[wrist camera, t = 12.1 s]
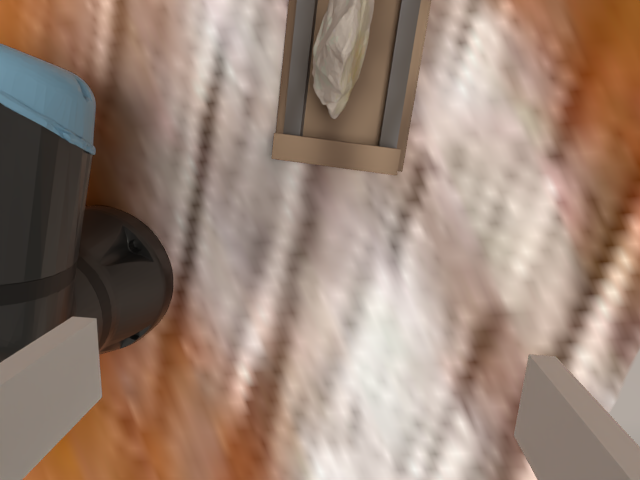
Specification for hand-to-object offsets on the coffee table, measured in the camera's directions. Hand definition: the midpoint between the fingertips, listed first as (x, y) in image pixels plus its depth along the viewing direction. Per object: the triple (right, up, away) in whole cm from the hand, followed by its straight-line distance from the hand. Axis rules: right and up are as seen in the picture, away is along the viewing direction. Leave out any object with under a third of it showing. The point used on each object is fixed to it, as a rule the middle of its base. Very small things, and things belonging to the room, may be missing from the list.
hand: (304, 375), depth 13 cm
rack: (+3, +20, +26) cm, 33 cm away
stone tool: (+3, +20, +25) cm, 32 cm away
